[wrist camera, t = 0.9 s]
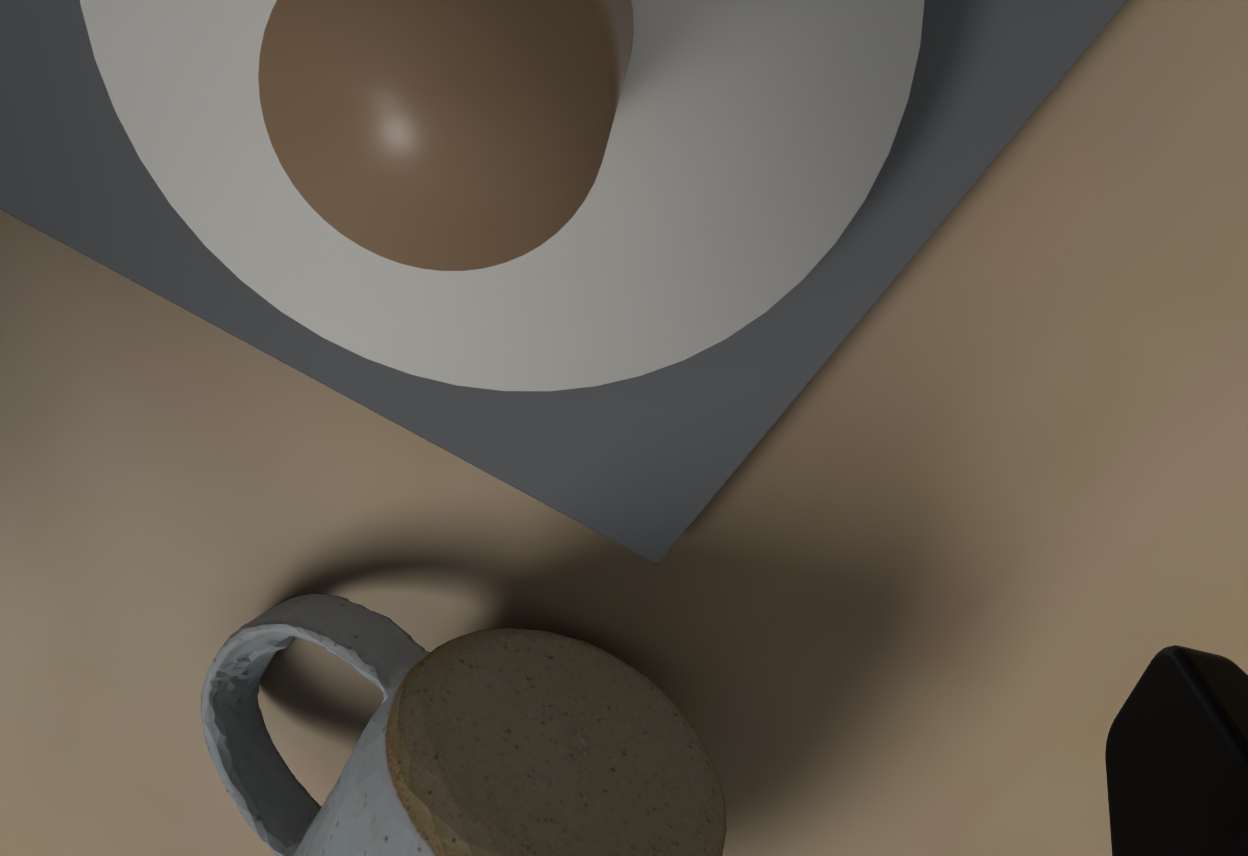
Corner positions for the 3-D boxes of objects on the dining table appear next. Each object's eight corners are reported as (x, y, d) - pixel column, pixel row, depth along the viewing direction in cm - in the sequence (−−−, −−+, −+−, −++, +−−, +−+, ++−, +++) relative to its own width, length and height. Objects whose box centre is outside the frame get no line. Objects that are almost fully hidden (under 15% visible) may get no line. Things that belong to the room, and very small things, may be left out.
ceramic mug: (753, 677, 26) (754, 1013, 19) (603, 893, 30) (561, 1230, 23) (282, 489, 24) (107, 782, 17) (193, 744, 28) (25, 1058, 22)
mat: (-82, 134, 20) (-110, 150, 20) (248, -983, 13) (222, -1020, 12) (658, 539, 24) (656, 564, 23) (1244, -174, 16) (1266, -167, 16)
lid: (5, 124, 19) (-200, 246, 15) (295, -749, 14) (96, -951, 9) (632, 475, 22) (609, 662, 18) (1100, -130, 16) (1230, -66, 12)
